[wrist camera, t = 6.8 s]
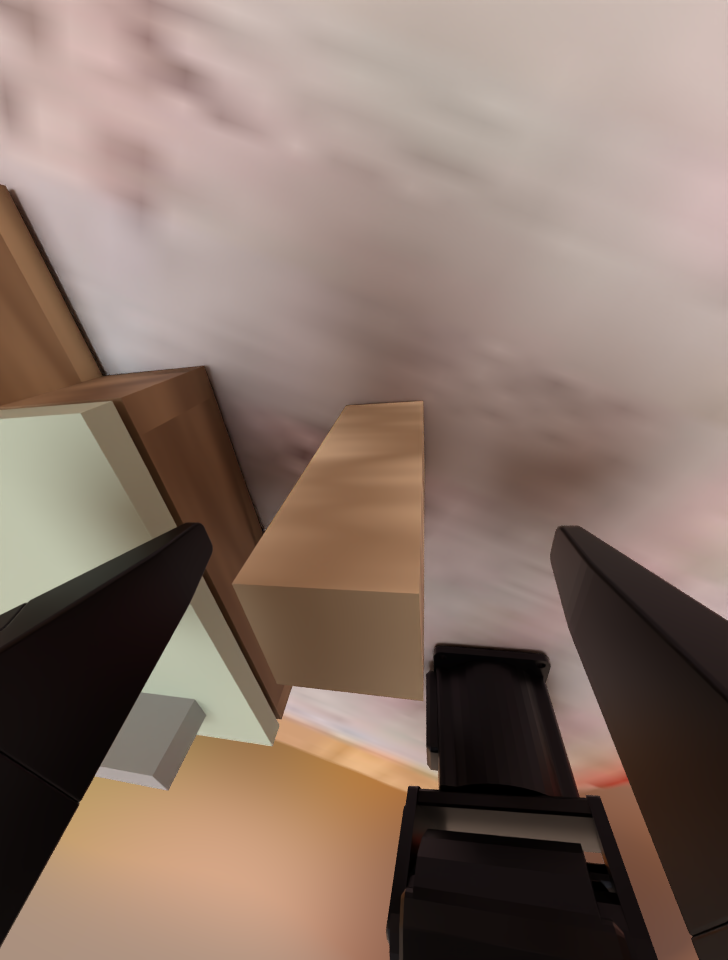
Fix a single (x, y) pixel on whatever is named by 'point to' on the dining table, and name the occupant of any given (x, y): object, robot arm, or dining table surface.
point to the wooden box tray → (134, 423)
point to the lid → (102, 537)
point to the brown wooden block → (347, 561)
